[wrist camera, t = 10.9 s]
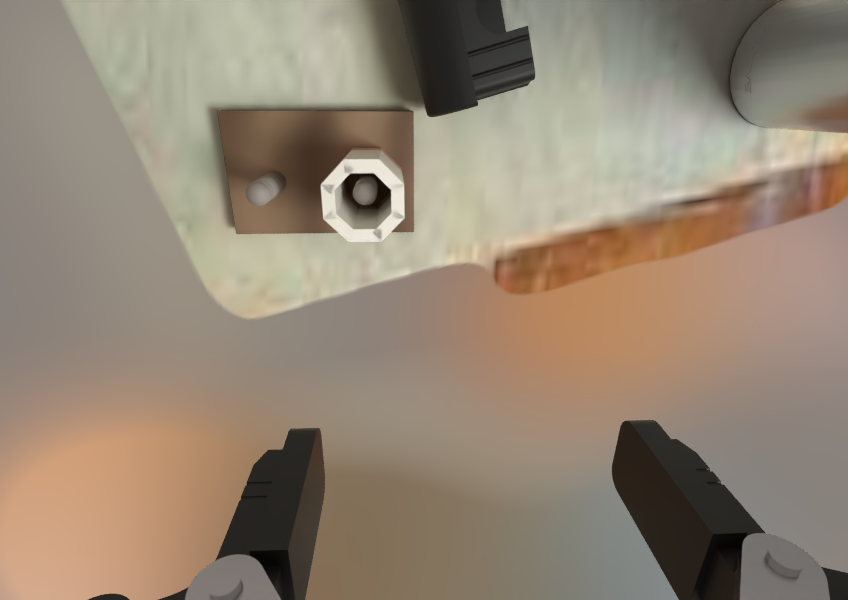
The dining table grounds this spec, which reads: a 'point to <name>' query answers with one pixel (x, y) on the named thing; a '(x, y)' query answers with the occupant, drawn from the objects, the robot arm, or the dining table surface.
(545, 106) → the dining table surface
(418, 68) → the end cap
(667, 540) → the robot arm
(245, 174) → the pin board
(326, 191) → the sleeve
